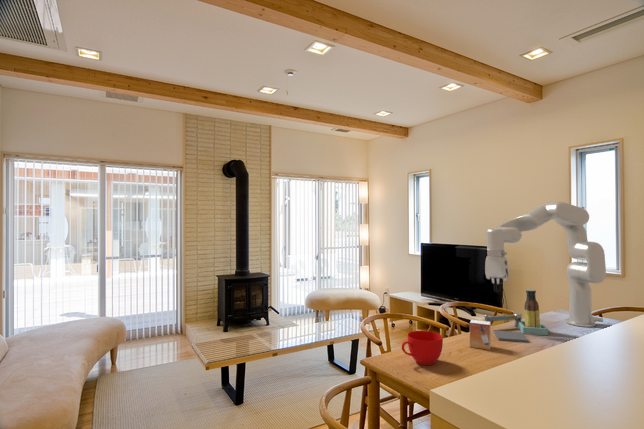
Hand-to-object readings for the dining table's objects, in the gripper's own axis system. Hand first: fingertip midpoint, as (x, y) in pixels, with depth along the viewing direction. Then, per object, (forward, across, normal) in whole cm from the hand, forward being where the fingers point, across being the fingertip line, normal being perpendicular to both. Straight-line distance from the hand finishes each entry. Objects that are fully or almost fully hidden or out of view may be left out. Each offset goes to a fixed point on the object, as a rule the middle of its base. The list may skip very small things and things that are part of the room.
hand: (497, 291), depth 185 cm
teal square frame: (+19, -9, -12) cm, 24 cm away
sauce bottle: (+20, -10, -11) cm, 25 cm away
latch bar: (+15, +1, -5) cm, 16 cm away
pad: (+19, -9, +6) cm, 22 cm away
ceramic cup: (+17, -5, +64) cm, 66 cm away
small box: (+18, -8, +29) cm, 35 cm away
